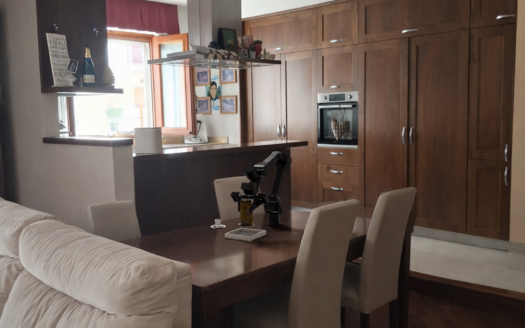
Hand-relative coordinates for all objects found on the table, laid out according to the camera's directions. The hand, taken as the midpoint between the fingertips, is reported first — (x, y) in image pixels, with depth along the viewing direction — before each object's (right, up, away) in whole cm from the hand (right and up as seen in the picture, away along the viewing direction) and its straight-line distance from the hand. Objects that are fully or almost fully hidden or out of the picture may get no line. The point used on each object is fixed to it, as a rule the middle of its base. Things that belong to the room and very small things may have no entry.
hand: (244, 211), depth 244 cm
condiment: (+1, -7, +2) cm, 7 cm away
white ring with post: (-17, -11, +24) cm, 31 cm away
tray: (+1, -12, +2) cm, 12 cm away
